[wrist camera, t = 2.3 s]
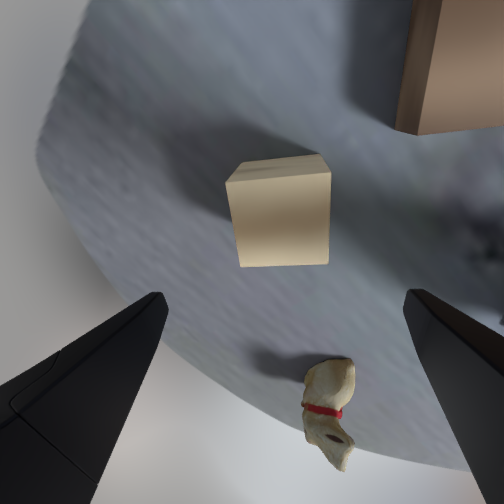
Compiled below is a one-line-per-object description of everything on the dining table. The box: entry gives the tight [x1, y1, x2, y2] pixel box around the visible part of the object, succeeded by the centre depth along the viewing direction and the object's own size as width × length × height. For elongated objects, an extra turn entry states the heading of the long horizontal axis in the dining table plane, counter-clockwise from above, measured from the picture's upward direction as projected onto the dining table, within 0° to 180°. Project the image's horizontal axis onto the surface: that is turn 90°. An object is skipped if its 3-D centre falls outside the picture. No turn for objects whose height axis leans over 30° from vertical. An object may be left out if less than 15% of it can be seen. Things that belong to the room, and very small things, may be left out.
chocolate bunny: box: [301, 359, 355, 472], centre depth 27 cm, size 6×8×10 cm
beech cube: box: [225, 154, 331, 267], centre depth 18 cm, size 6×6×6 cm
